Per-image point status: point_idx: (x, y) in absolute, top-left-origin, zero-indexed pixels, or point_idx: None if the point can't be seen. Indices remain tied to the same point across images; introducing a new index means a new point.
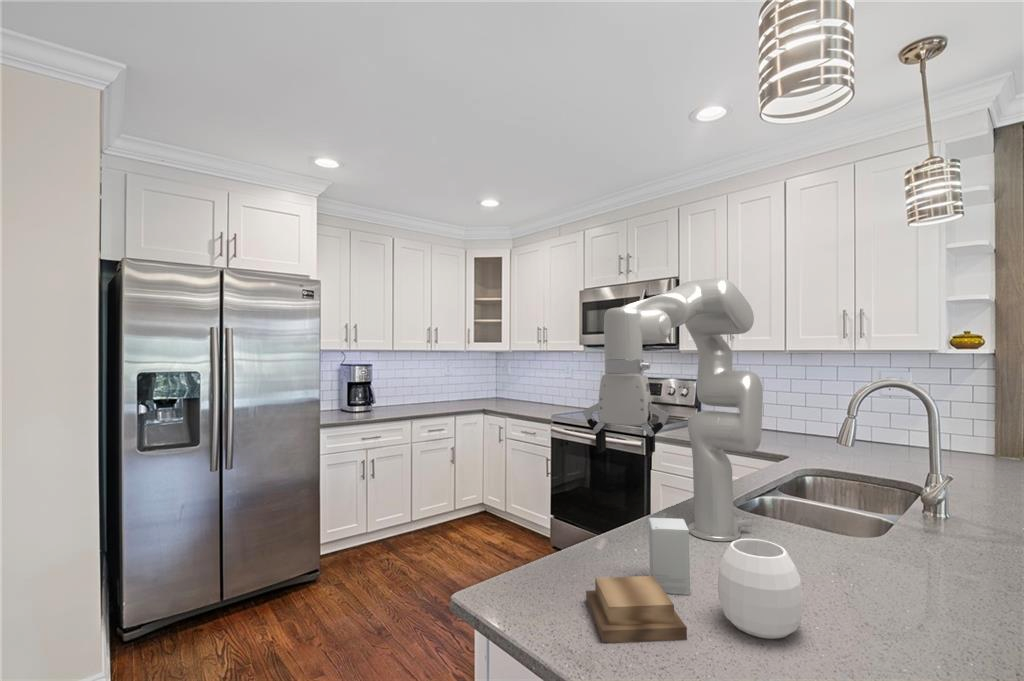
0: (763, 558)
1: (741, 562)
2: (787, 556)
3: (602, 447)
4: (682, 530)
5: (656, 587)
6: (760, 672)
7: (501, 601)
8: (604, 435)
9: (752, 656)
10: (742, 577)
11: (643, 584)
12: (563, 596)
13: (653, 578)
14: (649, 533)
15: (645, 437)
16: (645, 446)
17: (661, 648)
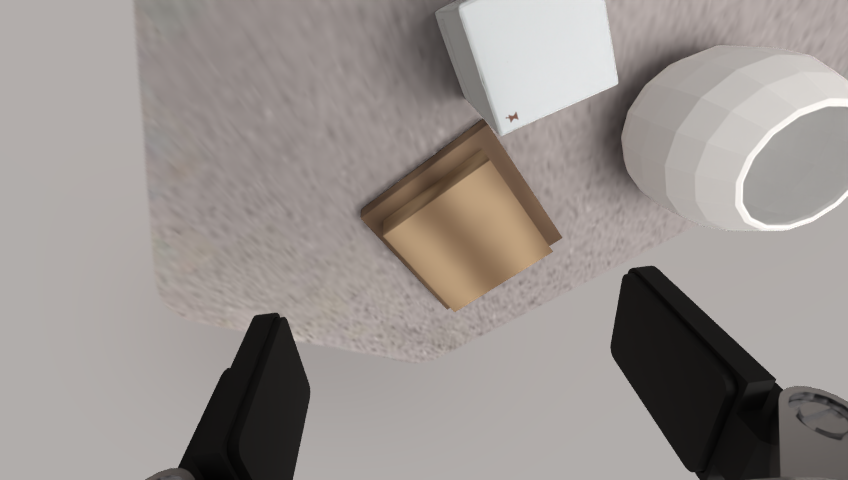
0: (796, 226)
1: (734, 227)
2: None
3: (298, 398)
4: (597, 91)
5: (510, 208)
6: (652, 247)
7: (236, 287)
8: (258, 444)
9: (647, 218)
10: (713, 227)
11: (483, 209)
12: (314, 215)
13: (494, 171)
14: (466, 59)
15: (692, 470)
16: (646, 405)
17: None
